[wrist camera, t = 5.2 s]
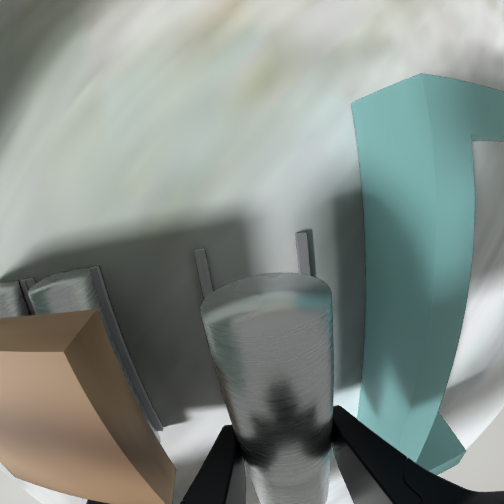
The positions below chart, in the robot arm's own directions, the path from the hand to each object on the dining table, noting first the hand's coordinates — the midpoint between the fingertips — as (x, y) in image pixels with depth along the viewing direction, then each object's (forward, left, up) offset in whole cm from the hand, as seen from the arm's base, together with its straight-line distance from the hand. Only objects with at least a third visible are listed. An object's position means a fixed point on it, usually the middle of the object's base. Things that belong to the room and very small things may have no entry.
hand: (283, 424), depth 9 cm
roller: (0, 0, -1) cm, 1 cm away
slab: (0, +10, -1) cm, 10 cm away
